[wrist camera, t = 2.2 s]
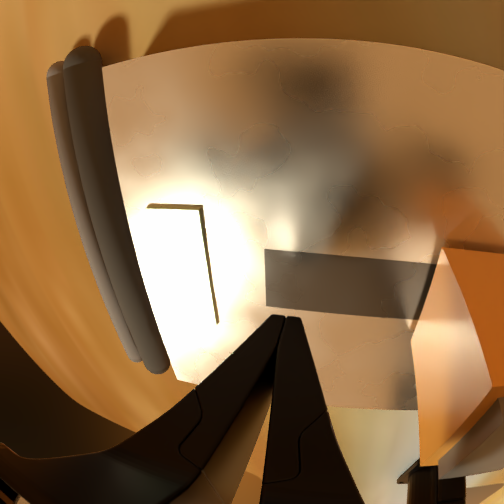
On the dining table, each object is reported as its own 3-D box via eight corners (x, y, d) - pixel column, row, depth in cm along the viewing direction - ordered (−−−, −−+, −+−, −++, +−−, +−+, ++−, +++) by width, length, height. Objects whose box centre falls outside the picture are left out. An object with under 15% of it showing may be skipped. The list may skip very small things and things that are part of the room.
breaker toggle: (476, 342, 10) (503, 472, 5) (410, 340, 10) (419, 484, 6) (516, 255, 7) (588, 395, 3) (441, 246, 8) (498, 412, 4)
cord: (176, 362, 18) (166, 381, 17) (136, 352, 19) (125, 369, 18) (108, 40, 9) (81, 41, 8) (59, 59, 10) (32, 64, 9)
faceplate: (553, 372, 12) (561, 397, 10) (190, 353, 18) (176, 381, 16) (644, 151, 4) (669, 167, 2) (135, 64, 10) (98, 67, 8)
